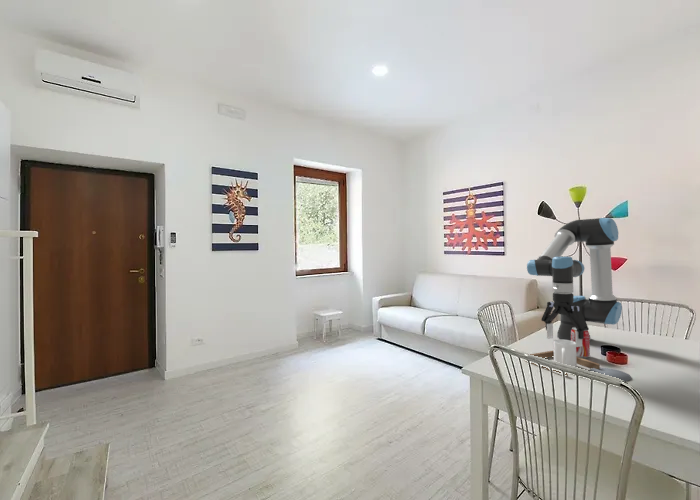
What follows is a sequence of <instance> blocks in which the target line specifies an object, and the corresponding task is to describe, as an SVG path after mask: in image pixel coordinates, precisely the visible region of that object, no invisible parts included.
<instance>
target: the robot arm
mask: <svg viewBox="0 0 700 500" xmlns="http://www.w3.org/2000/svg"><path fill="white" fill-rule="evenodd" d="M618 240H619V229H618V225H617V223H616V221H615V220H614V219H613V218H611V217H600V218H598V217H597V218H586V219H575V220H573V221H570V222H567V223H565V224H564V225H563V226H561V227H560V228H558V230H557V231H556V232H555V233H554V238H553V239H552V241H551V242H549V244H548V245H547V247H546V248H545V249H544V250H543V252H542V253H541V255H539V257H538V258H537V259H530V260H528V261H527V264H526V269H527V270H526V271H527V273H528V274H529V275H530V276H536V277H537V276H538V277H552V292H553V293H552V301H547V303H546V308H545V310H544V312H543V315H542V317H541V319H540V320H541V322H544V324H545V331H546V339H547V340H549V339H554V323H553V321H554V320H555V319H556V317H557V316H559V317H560V324H559V327H558V330H557V333H556V334H557V335H556V336H557V339H563V340H570V341H571V330H572V328H573V327H576V329H577V331H575V339H576V347H581V346H582V339H583V338H584V331H585V330H588V331H589V326H588V324H587V322H589V323H596V324H597V323H598V324H604V325H613V326H614V325H616V324H618V323H619V321H620V320H621V316H622V310H623V305H622V302H621V301H618V300H617V299H618V298H617V297H616V295H614V294H613V275H612V274H613V273H612V256H611V255H612V254H611V253H612V252H611V248H612V247H613V246H614V245H615V242H616V241H618ZM579 242H580V243H581V242H582V243H583V242H585V246H586V247H587V248H588V249H589V266H590V283H591V285H590V286H591V294H590V295H588V298H587V297H586V296H585V295H574V294H573V293H574V278H577V277H580V276H581V275H583V274H584V272H585V269H586V268H585V265H584V264H583V262H582V261H580V260H578V259H577V260H576V259H574V258H573V257H572V256H563V254H565V251H566V250H567V249H568V248H569V246H572V245H573V244H574V243H579ZM586 298H587V299H586ZM589 341H590V342H591V335H590V334H589Z"/></svg>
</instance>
